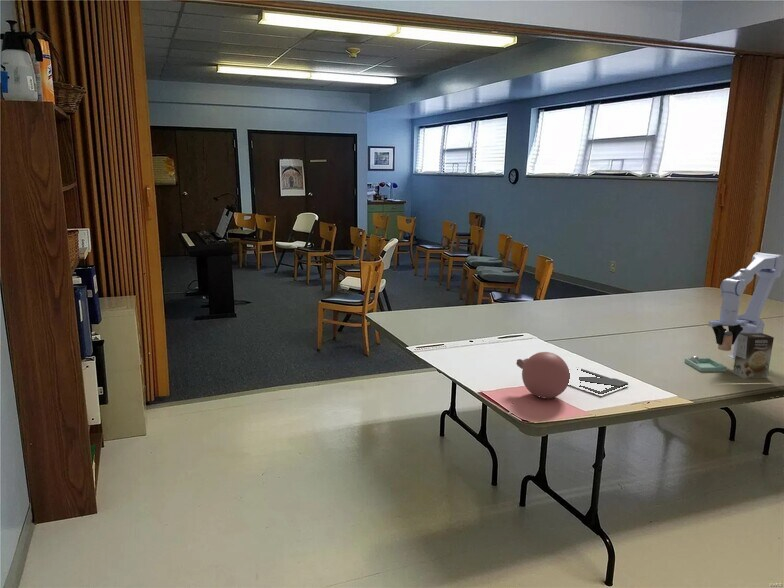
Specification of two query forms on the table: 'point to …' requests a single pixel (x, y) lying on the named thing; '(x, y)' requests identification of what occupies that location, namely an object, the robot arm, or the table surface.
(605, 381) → the picture frame
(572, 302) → the table surface
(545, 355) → the balloon
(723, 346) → the shaker
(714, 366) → the tray
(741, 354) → the coffee box
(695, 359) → the ball
